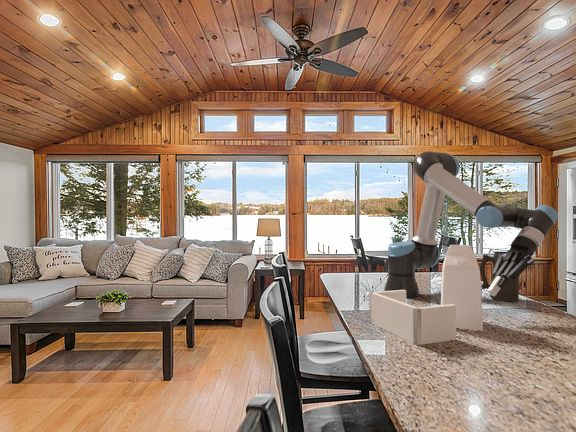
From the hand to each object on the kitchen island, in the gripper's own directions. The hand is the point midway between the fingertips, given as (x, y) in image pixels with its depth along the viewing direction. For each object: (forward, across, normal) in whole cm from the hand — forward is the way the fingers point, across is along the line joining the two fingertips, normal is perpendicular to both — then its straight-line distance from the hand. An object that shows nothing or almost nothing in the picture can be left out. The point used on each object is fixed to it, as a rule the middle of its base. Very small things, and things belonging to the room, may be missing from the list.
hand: (491, 293), depth 133 cm
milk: (+16, 0, -2) cm, 16 cm away
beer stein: (-15, -24, +28) cm, 40 cm away
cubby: (+30, -1, -17) cm, 34 cm away
